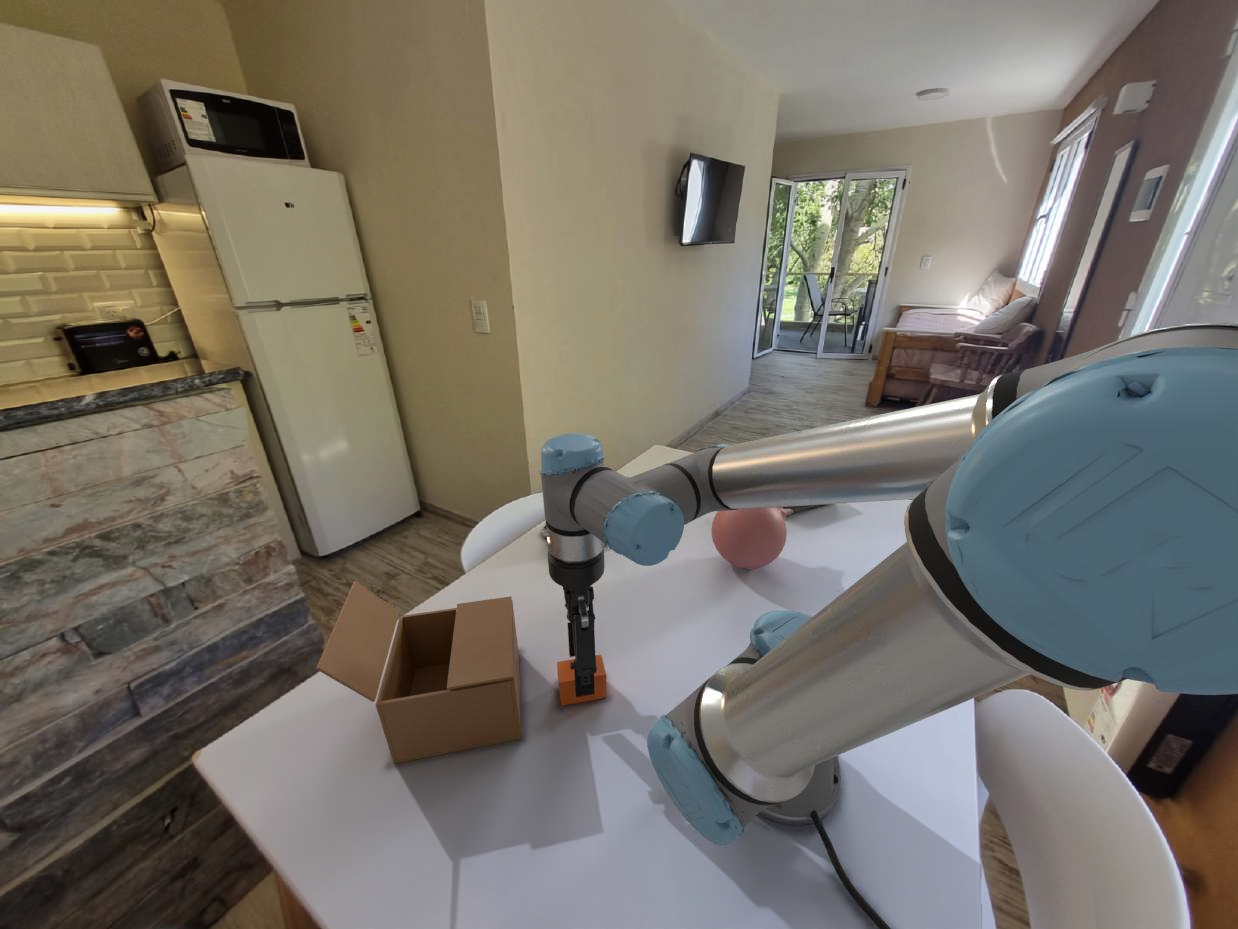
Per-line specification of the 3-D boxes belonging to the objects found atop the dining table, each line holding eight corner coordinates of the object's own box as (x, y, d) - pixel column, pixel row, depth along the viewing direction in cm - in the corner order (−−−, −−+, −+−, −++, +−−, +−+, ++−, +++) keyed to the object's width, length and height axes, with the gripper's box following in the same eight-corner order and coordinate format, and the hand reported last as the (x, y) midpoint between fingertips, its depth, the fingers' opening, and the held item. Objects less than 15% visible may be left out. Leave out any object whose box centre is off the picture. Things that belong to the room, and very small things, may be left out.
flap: (317, 667, 55) (315, 669, 55) (375, 700, 59) (372, 702, 59) (355, 580, 69) (353, 582, 69) (399, 612, 73) (397, 613, 73)
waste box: (521, 738, 68) (513, 676, 62) (393, 764, 64) (373, 700, 59) (518, 652, 82) (511, 595, 77) (413, 669, 79) (398, 611, 73)
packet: (606, 697, 74) (606, 674, 72) (561, 706, 72) (559, 683, 70) (601, 676, 77) (601, 654, 75) (558, 684, 76) (556, 661, 74)
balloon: (812, 566, 103) (826, 505, 97) (737, 592, 96) (746, 527, 89) (765, 530, 116) (774, 474, 110) (695, 551, 109) (700, 491, 102)
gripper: (542, 513, 71) (551, 630, 81) (554, 602, 54) (564, 737, 64) (591, 508, 73) (594, 623, 83) (619, 593, 55) (619, 726, 65)
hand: (581, 672), depth 73 cm, fingers open, 7 cm apart
